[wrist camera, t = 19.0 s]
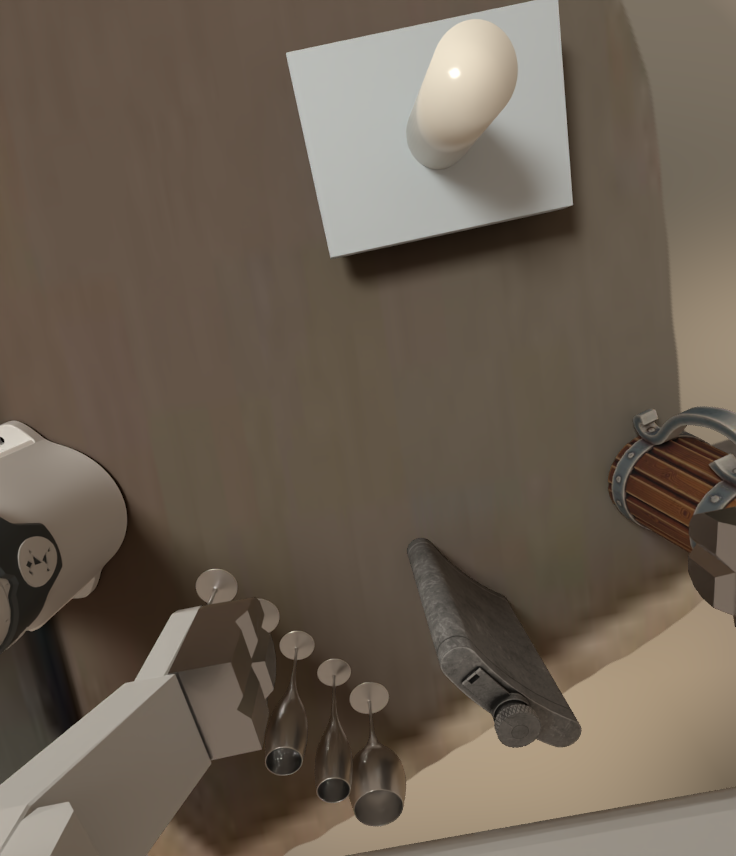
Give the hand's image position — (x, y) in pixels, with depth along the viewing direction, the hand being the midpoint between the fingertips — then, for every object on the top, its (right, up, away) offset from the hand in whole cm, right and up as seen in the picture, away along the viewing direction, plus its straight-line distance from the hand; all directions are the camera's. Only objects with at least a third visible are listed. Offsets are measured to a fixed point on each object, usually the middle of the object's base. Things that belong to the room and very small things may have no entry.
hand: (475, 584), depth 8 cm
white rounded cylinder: (+3, +25, +25) cm, 36 cm away
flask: (+8, -14, +41) cm, 44 cm away
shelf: (+3, +26, +29) cm, 39 cm away
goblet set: (-10, -22, +42) cm, 48 cm away
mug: (+27, 0, +38) cm, 47 cm away
